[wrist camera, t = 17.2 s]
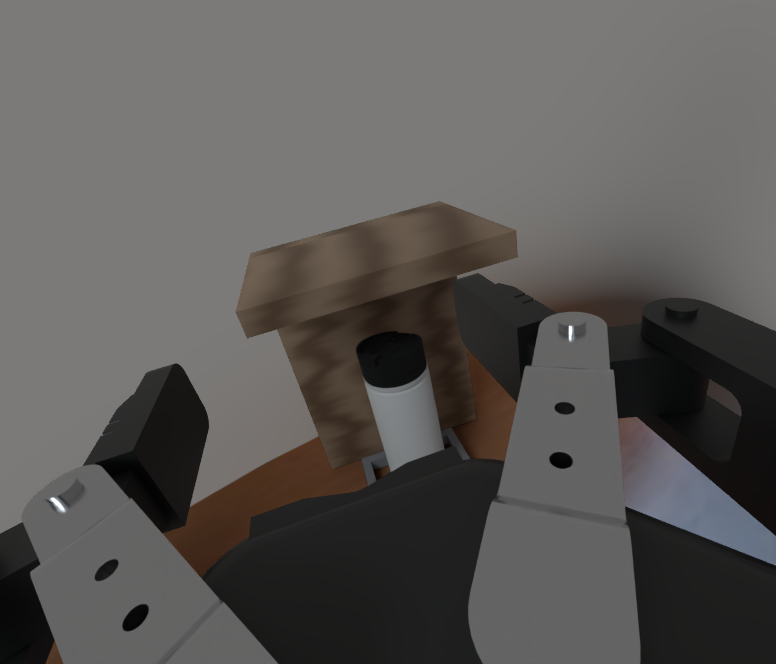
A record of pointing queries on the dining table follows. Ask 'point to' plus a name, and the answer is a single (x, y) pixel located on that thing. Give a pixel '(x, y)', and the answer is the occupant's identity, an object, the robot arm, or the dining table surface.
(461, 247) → the overhang shelf
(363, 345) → the travel mug
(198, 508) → the dining table surface
